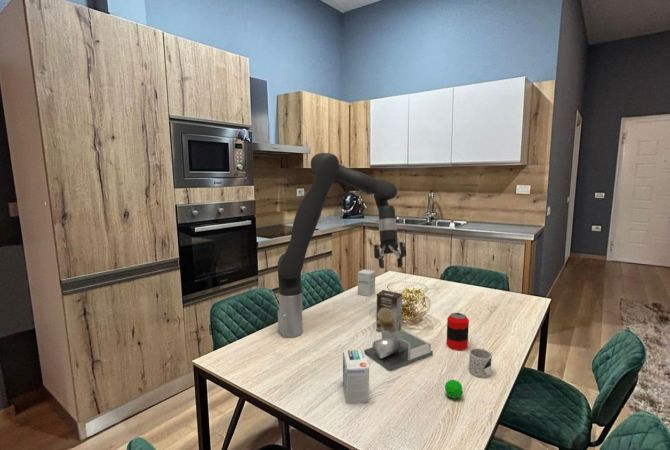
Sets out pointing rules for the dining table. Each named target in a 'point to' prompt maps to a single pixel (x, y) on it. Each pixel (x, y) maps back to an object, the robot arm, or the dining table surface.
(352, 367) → the light bulb box
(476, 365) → the mug
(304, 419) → the dining table surface
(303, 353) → the dining table surface
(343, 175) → the robot arm
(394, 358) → the motor mount
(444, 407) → the dining table surface
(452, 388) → the green ball
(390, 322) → the coffee box
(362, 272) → the supplement box
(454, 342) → the soda can
